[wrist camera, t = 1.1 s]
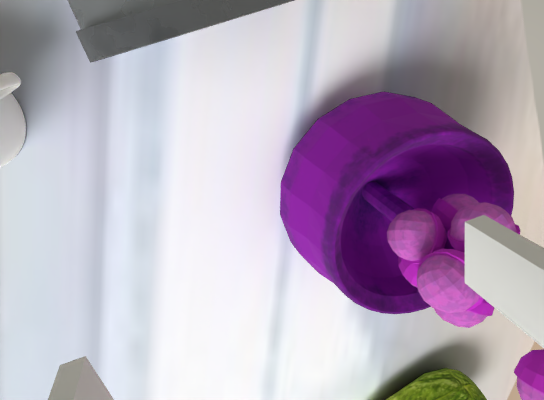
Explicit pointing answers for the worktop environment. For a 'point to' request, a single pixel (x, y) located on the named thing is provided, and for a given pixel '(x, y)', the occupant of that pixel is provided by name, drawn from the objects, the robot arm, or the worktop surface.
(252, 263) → the worktop surface
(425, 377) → the lettuce
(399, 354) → the worktop surface
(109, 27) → the jig
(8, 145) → the mug
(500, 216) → the decorative plant
